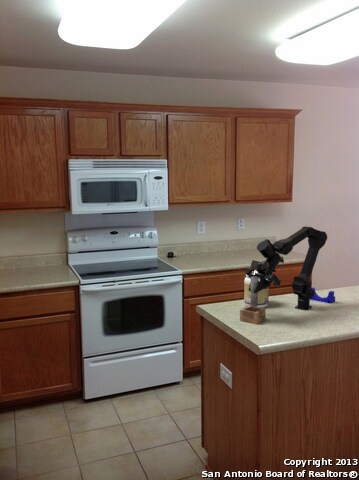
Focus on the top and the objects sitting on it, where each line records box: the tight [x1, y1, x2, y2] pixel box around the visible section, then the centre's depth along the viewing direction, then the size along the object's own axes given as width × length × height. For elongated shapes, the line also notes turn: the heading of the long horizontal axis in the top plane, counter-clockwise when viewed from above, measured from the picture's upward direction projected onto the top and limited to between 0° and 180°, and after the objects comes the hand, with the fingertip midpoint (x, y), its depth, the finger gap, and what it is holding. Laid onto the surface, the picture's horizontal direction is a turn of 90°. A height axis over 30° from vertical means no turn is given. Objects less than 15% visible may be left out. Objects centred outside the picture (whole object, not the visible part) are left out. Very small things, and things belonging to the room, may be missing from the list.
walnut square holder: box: [239, 306, 266, 325], centre depth 189 cm, size 8×8×5 cm
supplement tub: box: [243, 269, 270, 308], centre depth 210 cm, size 12×12×17 cm
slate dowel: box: [250, 277, 258, 307], centre depth 186 cm, size 3×3×13 cm
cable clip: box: [310, 287, 336, 305], centre depth 216 cm, size 12×4×6 cm, turn 46°
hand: (251, 291), depth 186 cm, fingers closed on slate dowel, 3 cm apart
